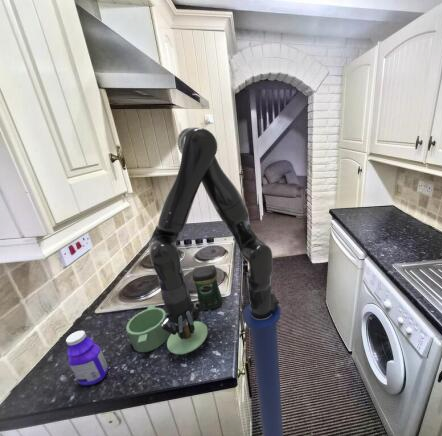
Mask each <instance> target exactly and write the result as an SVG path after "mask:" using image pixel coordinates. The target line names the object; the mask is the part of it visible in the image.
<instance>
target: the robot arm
mask: <svg viewBox="0 0 442 436" xmlns="http://www.w3.org/2000/svg"><path fill="white" fill-rule="evenodd" d="M176 143H177V147H178V150H179V152H180V154H181V158H180V164H179V169H178V172H177V175H176V177H175V180H174V182H173V184H172V186H171V188H170V190H169V191H168V193H167V195H166V197H165V200H164V202H163V204H162V208H161V212H160V214H159V218H158V223H157V225H156V226H155V228H154V231H153V232H152V234H151V237H150V240H149V243H148V253H149V258H150V262H151V265H152V267H153V269H154V271H155V273H156V277H157V282H158V285H159V288H160V294H161V299H162V302H163V305H164V307H165V310H166V311H165V312H166V316H167V319H166V320H165V321H164V322H161V323H160V326H161V327H162V328H163V329H164V330H165V331H167V332H169V333H170V335H171V334H173V335H175V334H176V333H178V336H179V337H180V339H183V340H184V339H185V334H184V331H183V328H182V326H183V322H185V321H186V322H188V323H189V327H190V331H191V333H194V330H195V328H194V321H198V319H199V317H200V314H201V311H202V310H201V306H202V304H201V303H200V302H198V300H195V301H194V302H192V298H191V297H192V296H191V293H190V289H189V285H188V283H187V281H186V277H185V274H184V269H183V267H182V264H181V263H182V262H181V257H180V252H179V249H178V246H177V240H178V238H179V235H180V233H182V232H183V231H184V229H185V228H186V225H187V223H188V219H189V216H190V213H191V210H192V207H193V205H194V201H195V199H196V196H197V193H198V191H199V188H200V186H201V184H202V186H203V188H204V191H205V192H206V194H207V196H208V198H209V200H210V202H211V204H212V207H214V209H215V211H216V213H217V215H218V216H219V218H220V219H221V221H222V222H223V224H224V225H225V227H226V229H228V231H229V232H230V233H231V234H232V235H231V236H233V238H234V241H235V242H236V244H237V246H238V249H239V251H240V254H241V256H242V257H243V259H244V260H245V261H246V262H247V263H248V264H249V270H248V271H247V274H246V281H247V289H248V299H249V304H250V309H251V316H252V318H253V319H255V320H258V321H263V320H267V319H269V318H270V317H271V316H272V315H274V314H275V311H274V308H277V307H278V305H279V303H280V302H279V299H277V297H276V295H275V293H273V290H272V273H273V252H272V248H271V247H270V246H269V245H268V244H266V243H265V242H263V241H262V240H261V239H260V237H258V235H257V233H255V231H254V229H253V228H252V226H251V222H250V214H249V210H248V208H247V205H246V203H245V200H244V199H243V197H242V195H241V194H240V193H241V192H240V191H239V190H238V189H237V187H236V186H235V185H234V183H233V182H232V180H230V178H229V177H228V176H227V174H226V173H225V172H224V170H223V169H222V167H221V166H220V163H219V161H218V159H217V156H216V155H217V153H218V141H217V139H216V136H215V135H214V134H213V133H212V132H211V131H210V130H208V129H206V128H203V127H198V126H197V127H195V126H194V127H188V128H183V130H182V131H180V132H179V134H178V136H177V142H176ZM171 322H172V323H174V325H175V327H173V326H171Z"/></svg>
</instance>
